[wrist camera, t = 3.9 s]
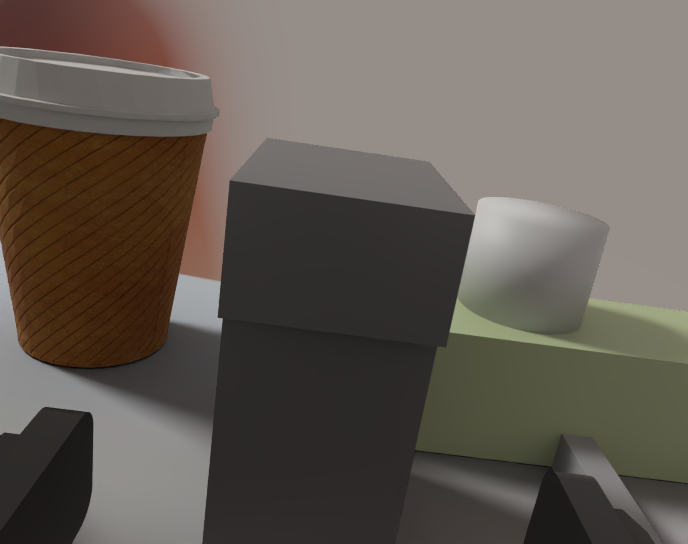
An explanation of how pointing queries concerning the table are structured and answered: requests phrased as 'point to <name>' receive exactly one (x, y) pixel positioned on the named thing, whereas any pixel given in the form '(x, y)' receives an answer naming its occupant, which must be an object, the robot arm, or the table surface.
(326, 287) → the grey lidded box
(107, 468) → the table surface
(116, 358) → the disposable coffee cup
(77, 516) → the robot arm
